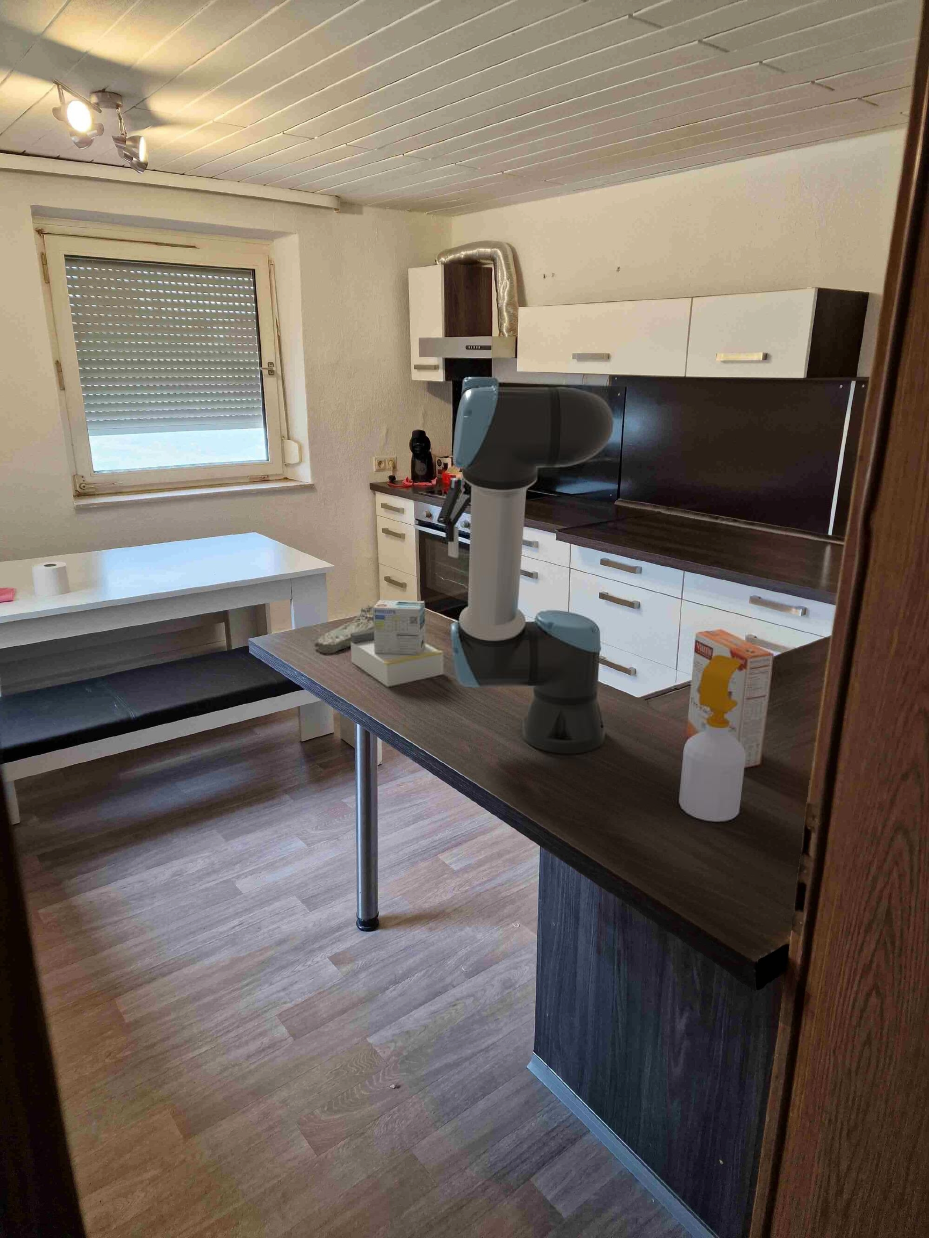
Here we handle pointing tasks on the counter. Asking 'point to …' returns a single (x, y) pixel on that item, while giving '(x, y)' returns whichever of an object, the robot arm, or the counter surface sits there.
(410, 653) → the light bulb box
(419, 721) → the counter surface
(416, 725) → the counter surface
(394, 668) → the platform
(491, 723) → the counter surface
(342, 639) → the elongated rock
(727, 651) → the cracker box
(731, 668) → the soap bottle
